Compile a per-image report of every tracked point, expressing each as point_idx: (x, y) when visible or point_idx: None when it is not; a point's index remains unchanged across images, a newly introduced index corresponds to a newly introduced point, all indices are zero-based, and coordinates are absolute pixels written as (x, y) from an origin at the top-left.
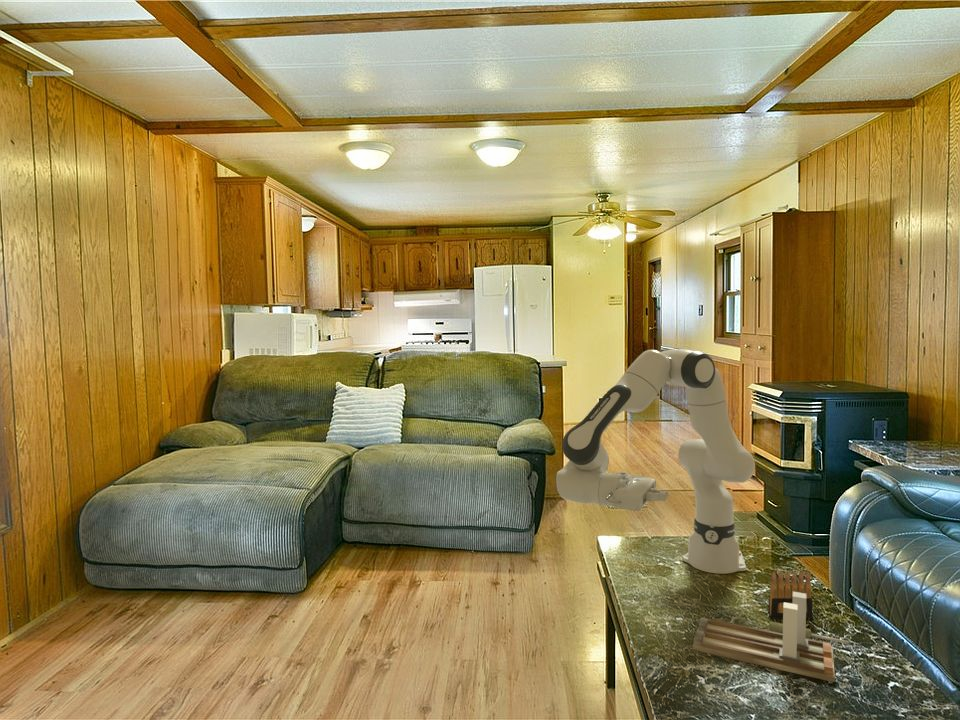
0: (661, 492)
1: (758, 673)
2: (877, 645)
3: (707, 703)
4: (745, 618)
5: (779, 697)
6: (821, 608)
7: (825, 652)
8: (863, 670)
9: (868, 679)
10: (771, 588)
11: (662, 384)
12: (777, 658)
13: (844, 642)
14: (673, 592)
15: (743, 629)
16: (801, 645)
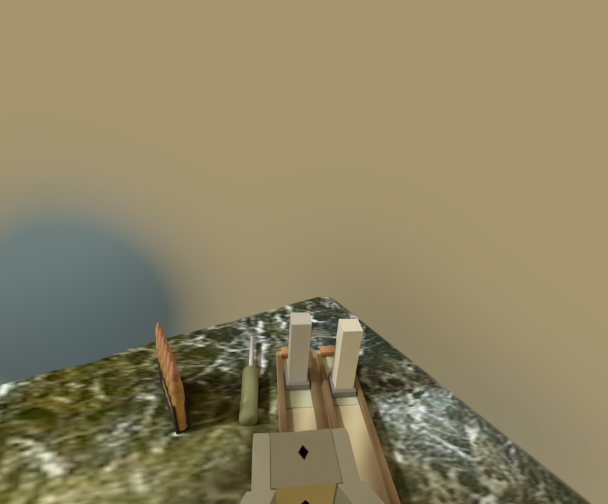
0: (303, 468)
1: (392, 424)
2: (233, 324)
3: (534, 476)
4: (209, 470)
5: (426, 397)
6: (134, 368)
7: None
8: None
9: (317, 332)
10: (180, 390)
11: None
12: (361, 394)
13: (253, 342)
14: None
15: None
16: (307, 371)
